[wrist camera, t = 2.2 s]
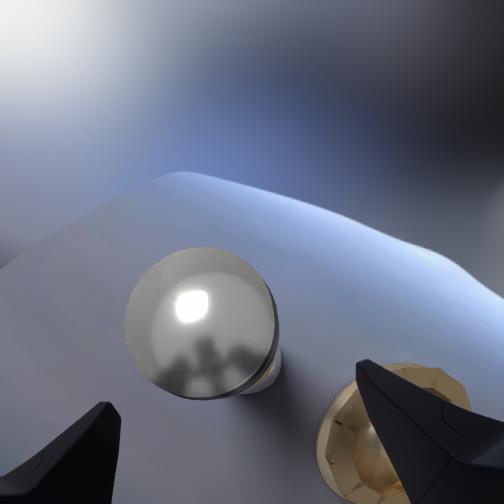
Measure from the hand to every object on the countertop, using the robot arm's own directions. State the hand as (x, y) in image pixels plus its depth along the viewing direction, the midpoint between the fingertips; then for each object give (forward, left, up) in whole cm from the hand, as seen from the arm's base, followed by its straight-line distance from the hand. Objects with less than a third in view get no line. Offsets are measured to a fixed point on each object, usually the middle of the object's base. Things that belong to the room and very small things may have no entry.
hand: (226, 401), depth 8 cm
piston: (+2, 0, -10) cm, 10 cm away
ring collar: (-7, -7, -10) cm, 14 cm away
